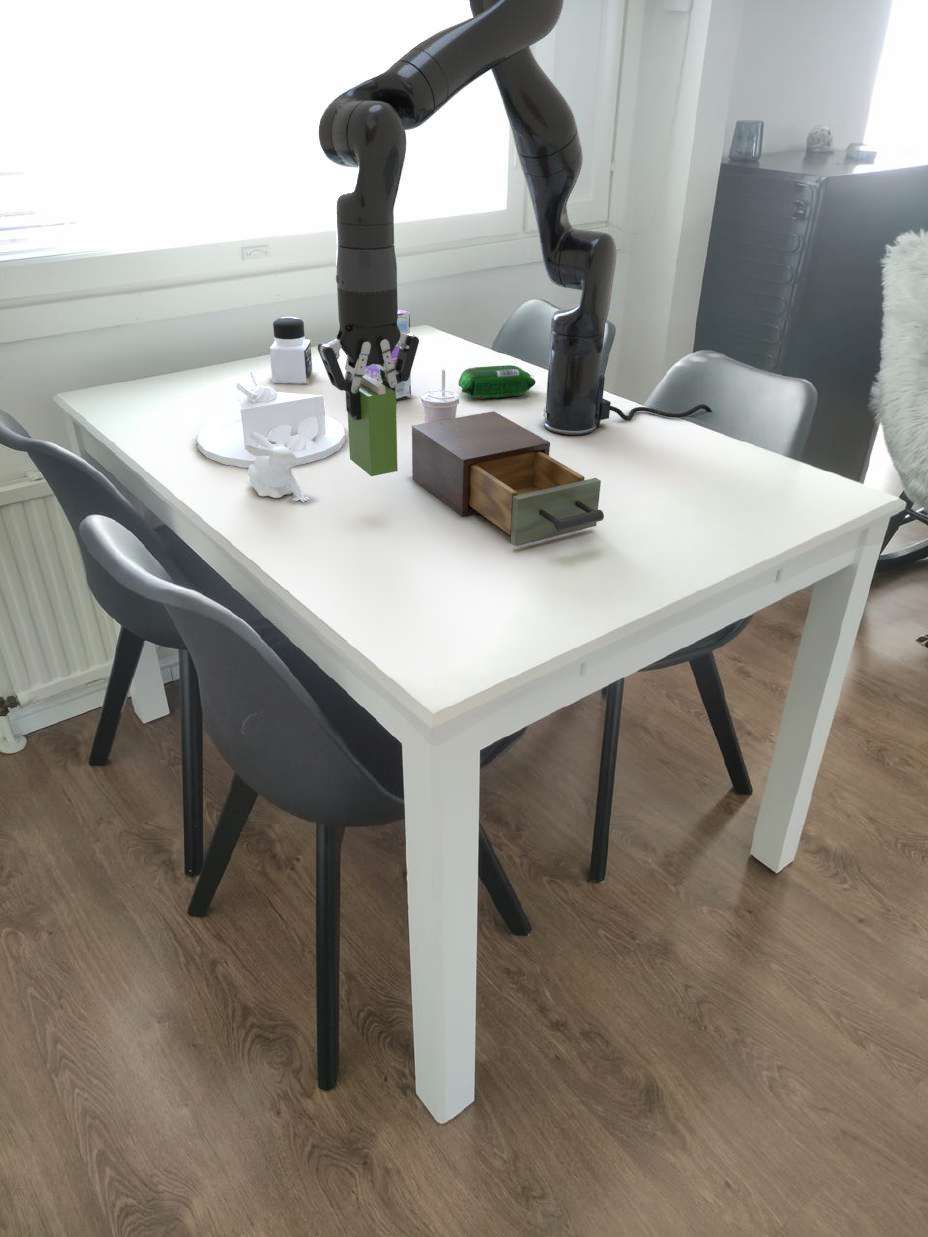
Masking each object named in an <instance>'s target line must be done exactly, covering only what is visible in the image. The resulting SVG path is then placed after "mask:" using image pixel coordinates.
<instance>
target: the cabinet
mask: <svg viewBox="0 0 928 1237" xmlns="http://www.w3.org/2000/svg"><path fill="white" fill-rule="evenodd" d="M550 448H551V442H550V441H548V440H546V439H545V438H543V437H541V436H539V435H537V434H535V433H534V432H532V431H531V430H529V429H527V428H525V427H523V426H521V425H520V424H518V423H516V422H515V421H513V420H510V419H509V418H507V417H505V416H503V415H502V414H500V413H498V412H496V411H495V410H493V411H487V412H481V413H475V414H471V415H470V414H469V415H465V416H464V415H463V416H458V417H456V418H452V419H447V420H441V421H435V422H430V423H425V422H424V423H420V424H414V425H411V465H412V466H411V467H412V469H411V471H412V472H411V473H412V480H413V481H414V482H416V483H417V484H418V485H420V486H421V487H422V488H423V489H425V490H426V491H428V492H429V493H430V494H432V495H433V496H434V497H435V498H437V499H438V500H439V501H441V502H442V503H444V504H445V506H448V507H449V508H450V509H451V510H453V511H454V512H455V513H457V514H458V515H459V516H461V517H462V518H463V517H468V516H472V515H476V514H480V513H479V512H477V511H476V510H475V509H473V508H472V507H471V506H469V505H468V473H469V465H470V464H474V463H479V462H484V461H489V460H494V459H499V458H504V457H509V456H514V455H519V454H524V453H528V452H533V451H538V450H539V451H541V452H543V453H544V454H546V455H548V456H550V452H551V450H550Z"/></svg>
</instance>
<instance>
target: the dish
mask: <svg viewBox="0 0 928 1237" xmlns="http://www.w3.org/2000/svg"><path fill="white" fill-rule="evenodd" d="M248 372H249V374H250V375H251V376H250V377H251V379H252V381H253V383H254V385H255V387H253V388H252V389H250V388H249V387H247V386H246V385H244V384H242V383H241V382H239V381H237V383H236V384H235V388H236V389H237V390H238V391H240V413H237V414H233V415H227V416H224V417H222V418H220V419H217V420H215V421H213V422H211V423H208V424H207V425H205V426H204V427H203V428H202V429H201V430H200V431H199V432H198V434H197V448H198V450H199V451H200V452H201V454H203V456H204V457H206V458H207V459H209V460H212V461H215V462H217V463H219V464H222V465H226V466H230V467H231V466H232V467H239V468H244V469H249V466H250V465H252V464H254V463H255V459H256V456H255V455H253V454H251V453H249V452H248V451H247V449H246V445H247V444H251V445H254V446H255V445H256V444H257V441H255V440H253V439H252V438H250V435H251V433H252V432H256V433H258V434H259V435H261V436H263V437H264V438H265V437H266V436H267V438H268V441H269V442H270V443H271V444H272V445H273V446H275V447H285V448H288V449H289V450H291V451H292V452H293V453H294V454H295V455H296V458H297V460H296V465H295V466H303V465H306V464H309V463H312V462H313V463H314V462H316V461H320V460H323V459H326V458H328V457H329V456H331V455H333V454H334V453H337V452H338V451H340V449H341V448H342V447H343V445H344V444H345V443H346V432H345V428H344V426H343V425H344V424H342V423H340V422H339V421H337V420H336V419H335V418H333V417H330V416H327V415H326V412H325V411H326V410H325V396H324V395H323V394H322V395H321V394H311V393H310V394H309V393H297V392H296V393H294V392H281V391H276V390H275V389H273V388H272V387H270V386H268V385H262V384H261V385H259V381H258V379H257V377H256V376H255V374H254V373H253V371H252V370H251V368H250V369H248ZM295 466H294V467H295Z"/></svg>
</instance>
